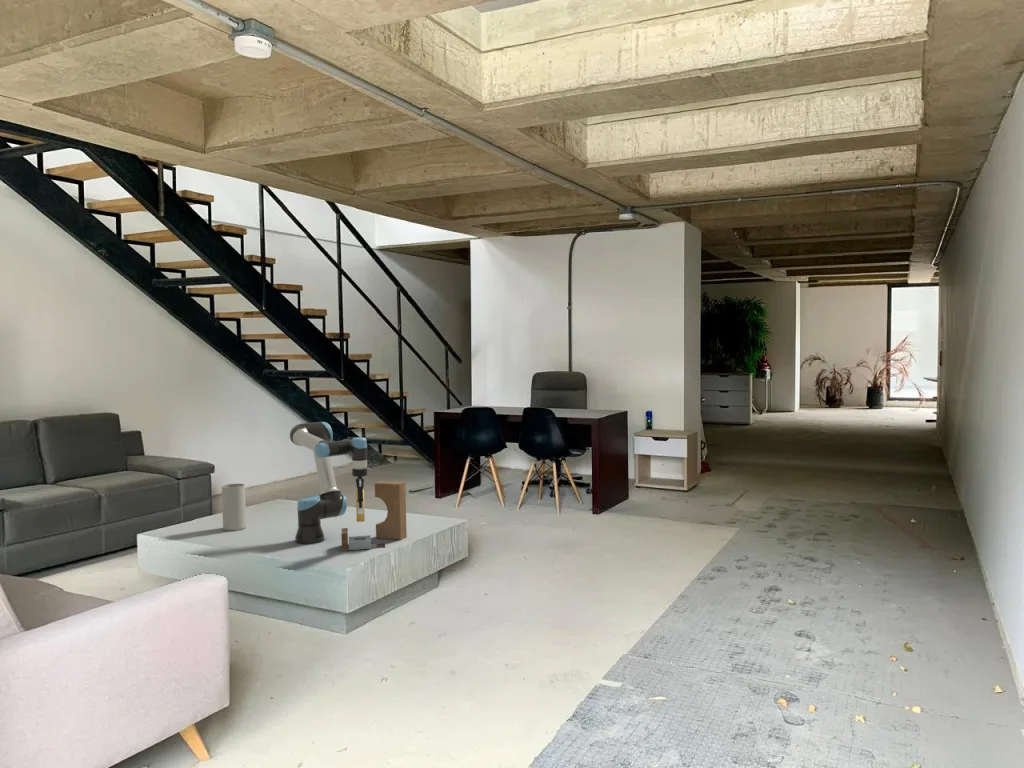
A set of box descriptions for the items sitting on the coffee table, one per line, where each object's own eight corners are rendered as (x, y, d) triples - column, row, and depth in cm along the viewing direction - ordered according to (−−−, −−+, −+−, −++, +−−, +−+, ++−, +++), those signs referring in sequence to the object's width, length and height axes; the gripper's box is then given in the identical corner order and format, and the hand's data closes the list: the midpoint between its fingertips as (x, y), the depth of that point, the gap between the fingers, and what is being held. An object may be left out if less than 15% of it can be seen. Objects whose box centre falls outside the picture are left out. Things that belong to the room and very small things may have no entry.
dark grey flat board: (348, 546, 397) (348, 545, 397) (384, 543, 401) (384, 543, 401) (348, 550, 389) (348, 549, 389) (385, 547, 393) (385, 547, 393)
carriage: (349, 544, 398) (348, 536, 398) (370, 543, 401) (370, 535, 400) (349, 550, 387) (348, 542, 387) (371, 548, 390) (370, 540, 390)
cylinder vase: (250, 527, 443) (249, 484, 441) (232, 532, 432) (230, 488, 431) (237, 525, 450) (235, 482, 448) (218, 529, 439) (216, 486, 438)
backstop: (342, 545, 398) (341, 528, 398) (348, 545, 399) (347, 527, 399) (341, 551, 386) (341, 534, 385) (348, 551, 386) (347, 533, 386)
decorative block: (407, 536, 414) (405, 481, 413) (400, 540, 407) (399, 484, 406) (382, 534, 419) (381, 480, 418) (375, 538, 412) (374, 483, 411)
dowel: (356, 520, 395) (355, 489, 394) (364, 519, 396) (363, 489, 395) (356, 522, 391) (356, 491, 390) (364, 521, 392) (364, 490, 391)
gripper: (351, 465, 399) (352, 509, 400) (352, 471, 382) (353, 517, 384) (366, 464, 400) (367, 508, 402) (367, 470, 384) (368, 516, 386)
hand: (360, 512), depth 393 cm, fingers closed on dowel, 4 cm apart
